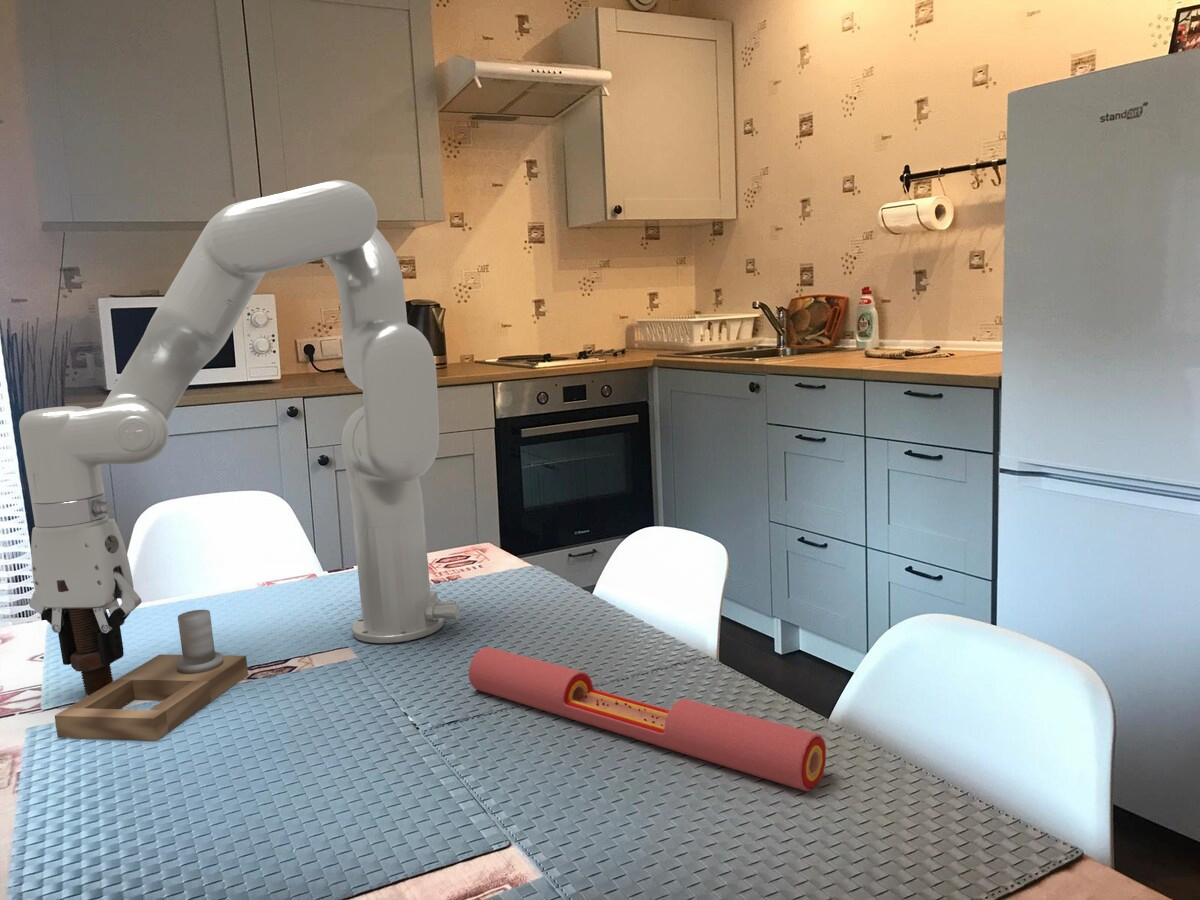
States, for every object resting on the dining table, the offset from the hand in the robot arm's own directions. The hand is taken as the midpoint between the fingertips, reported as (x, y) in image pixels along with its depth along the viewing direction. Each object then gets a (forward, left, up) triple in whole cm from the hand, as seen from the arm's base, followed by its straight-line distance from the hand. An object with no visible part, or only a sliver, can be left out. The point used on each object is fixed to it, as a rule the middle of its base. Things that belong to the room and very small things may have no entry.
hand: (93, 659), depth 113 cm
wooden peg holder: (-10, +2, -4) cm, 11 cm away
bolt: (0, 0, -4) cm, 4 cm away
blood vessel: (-65, +5, -5) cm, 66 cm away
